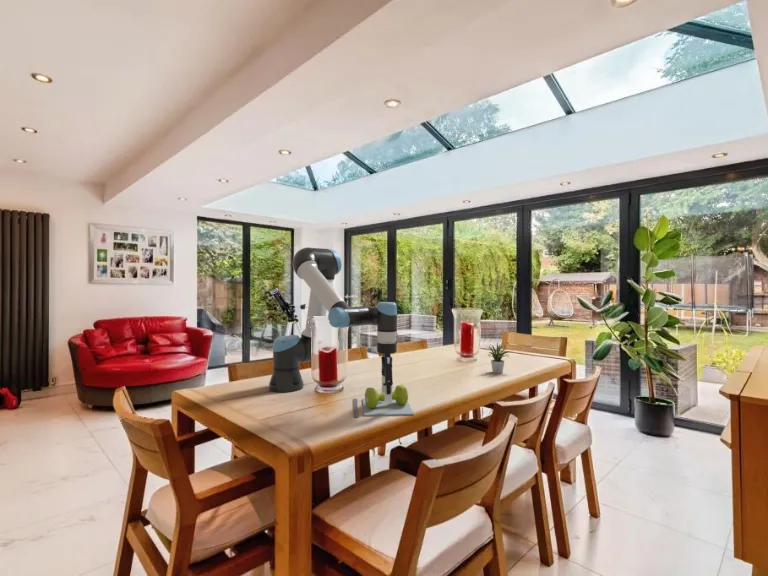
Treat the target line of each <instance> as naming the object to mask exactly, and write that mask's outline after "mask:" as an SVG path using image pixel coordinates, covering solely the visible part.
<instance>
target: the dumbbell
mask: <svg viewBox="0 0 768 576" xmlns="http://www.w3.org/2000/svg"><path fill="white" fill-rule="evenodd" d="M408 393H409V392H408V389H407V387H406V386H405V385H403V384H398V385H396V386H395V389H394V391H392V400H396V402H397V403H398V404H399V405H405V404H406V403H407V401H408V400H409V394H408ZM364 399H365V403H366V405H367V407H368V408H370V409H371V408H375V407H376V406H377V403H378V401H385V392H384V393H382V392H377V390H376V389H375V388H374V387H366V389H365V392H364Z"/></svg>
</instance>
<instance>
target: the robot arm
mask: <svg viewBox="0 0 768 576" xmlns="http://www.w3.org/2000/svg"><path fill="white" fill-rule="evenodd" d="M342 266H343V264H342V258H341V256H340V254H339V252H338V251H336V250H334V249H331V248H320V247H319V248H318V247H303V248H301V249H299V250H298V251H297V252H296V253H295V254H294V256H293V258H292V268H293V270H294V273H295V274H296V276H297V277H298V279H300V280H303V281H304V282H305V284H306V285H307V287H309V289H310V292H309V293H310V294H309V298H308V299H309V301H308V306H307V307H308V309H307V313H306V322H305V328H304V329H303V330H302V331H301V336H299V335H296V334H290V335H287V334H286V335H282V336H279V337H277V338H275V339H274V340H273V343H272V373H271V376H270V380H269V383H268V390H269V391H271V392H277V393H291V392H296V391H300V390H302V389H303V388H304V380H303V377H302V375H301V374H302V373H301V371H300V364H301V363H309V362H312V361H311V328H310V323H308V320H309V319H308V317H310V318H314V317H313V316H327V320H328V321H329V322H328V323H329V324H330V326H331V327H333V328H339V329H341V328H343V329H345V328H351V327H359V326H360V327H361V326H376V328H377V329H376V342H377V343H376V351H377V353H379V354H381V355H382V356H381V371H380V372H381V393H384V392H385V403H392V392H393V385H394V381H393V380H394V379H393V357H392V354H395V353H397V349H398V348H397V336H398V337H399V333H397V331H398V327H397V326H398V325H397V322H398V319H397V318H398V310H397V308H398V307H397V306H398V305H397V303H396V302H395V301H393V302H392V301H380V302H378V303H377V306H372V305H359V306H349V305H348V303H347V302H346V301H345V299H343V297H342V296H341V295H340V294H339V293H338V292H337V290H336V289H335V288H334V286H333V285H332V284H331V283H332V282H333V281H334V280H335V276H336V275H338V274H339V273H340V272H341V270H342ZM327 312H328V315H327ZM310 320H311V319H310ZM309 322H310V321H309Z"/></svg>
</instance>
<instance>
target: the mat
mask: <svg viewBox="0 0 768 576" xmlns="http://www.w3.org/2000/svg"><path fill="white" fill-rule="evenodd" d="M361 400H362V409H363V417H389V416H392V417H396V416H397V417H398V416H414V415H415V414H414V411H413V409H412V407H411V405H410V404H409V401H408V400H407V403H406V404H405V405H399V404H398V403H397V402H396V400H392V403H385V401H378V403H377V406H376V407H375V408H371V409H370V408H368V407H367V405H366V403H365V398H362V399H361Z"/></svg>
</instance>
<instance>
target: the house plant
mask: <svg viewBox="0 0 768 576" xmlns="http://www.w3.org/2000/svg"><path fill="white" fill-rule="evenodd" d="M504 345H505V343H503V344H499V343H498V342H497V343H496V348H495V347H494V345H491V346H490V345H489V346H487V345H486V347H487V348H488V349H489V350H490V352H488V353H489V354H488V355H487V356H488V358H490V357H491V358H493V359H490V362H491V363H490V364H491V370H492V373H494V374H502V373H504V366H505V360H503V358H504V357H505V355H506V354H507V357H508V358H510V354H508V353H512V351H511V350H507V349H508V348H509V345H508V346H506V347H504V348H503V346H504ZM502 348H503V349H502ZM505 350H507V351H505Z"/></svg>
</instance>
